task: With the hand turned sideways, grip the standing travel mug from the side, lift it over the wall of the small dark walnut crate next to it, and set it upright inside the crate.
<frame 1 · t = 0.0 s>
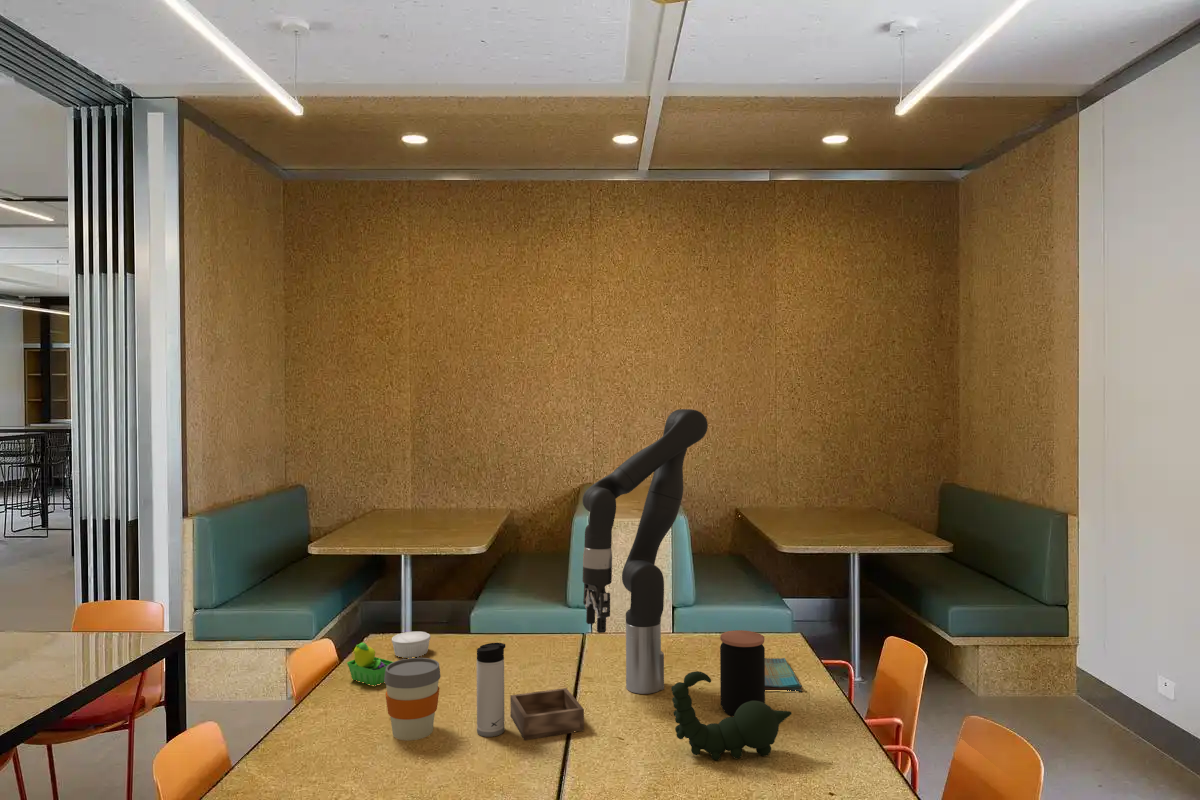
hand: (595, 627, 198), 17 cm above the table, tool pointing down, fingers open, 8 cm apart
toy figurine: (731, 755, 164), on the table
ramekin: (411, 654, 232), on the table
dish towel: (762, 679, 211), on the table
travel mug: (491, 732, 176), on the table
walnut crate: (546, 723, 181), on the table
coffee jar: (742, 711, 188), on the table
fruit basket: (369, 682, 209), on the table
reusable coffee cup: (412, 732, 177), on the table
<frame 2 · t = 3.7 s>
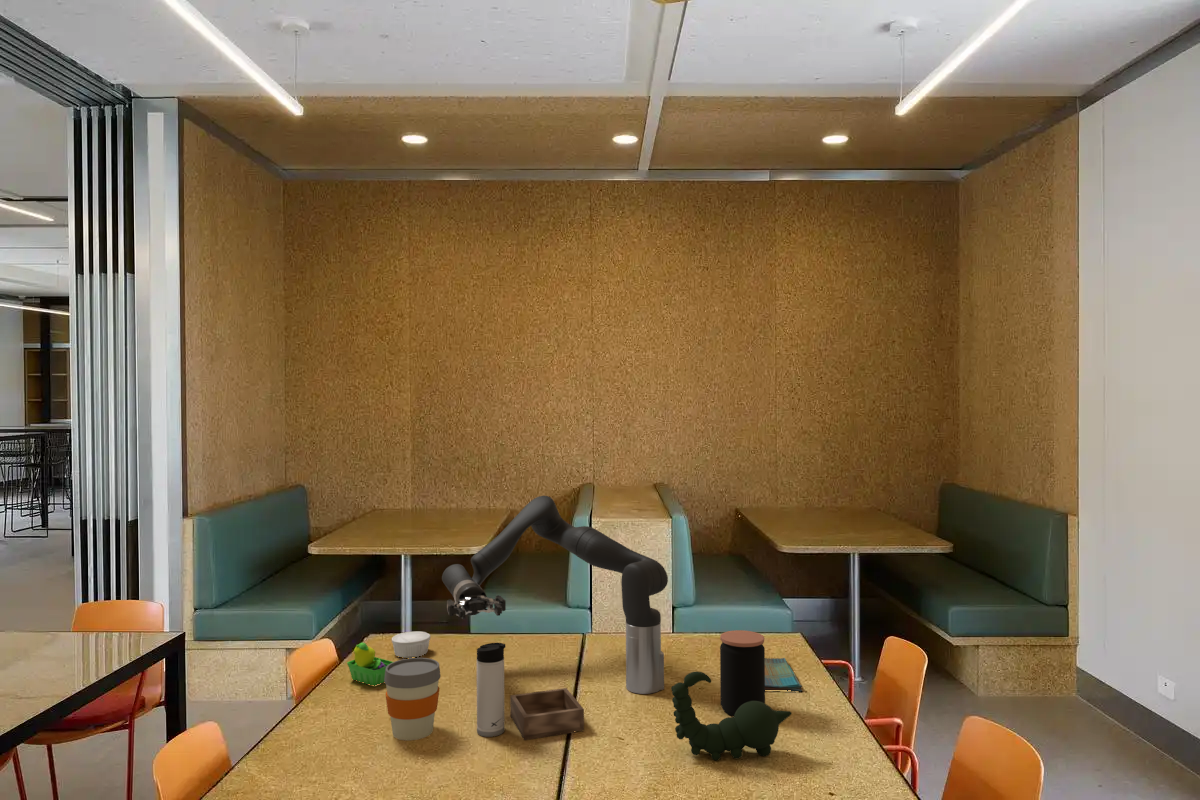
hand: (481, 613, 188), 24 cm above the table, tool horizontal, fingers open, 8 cm apart
nothing on the table moved.
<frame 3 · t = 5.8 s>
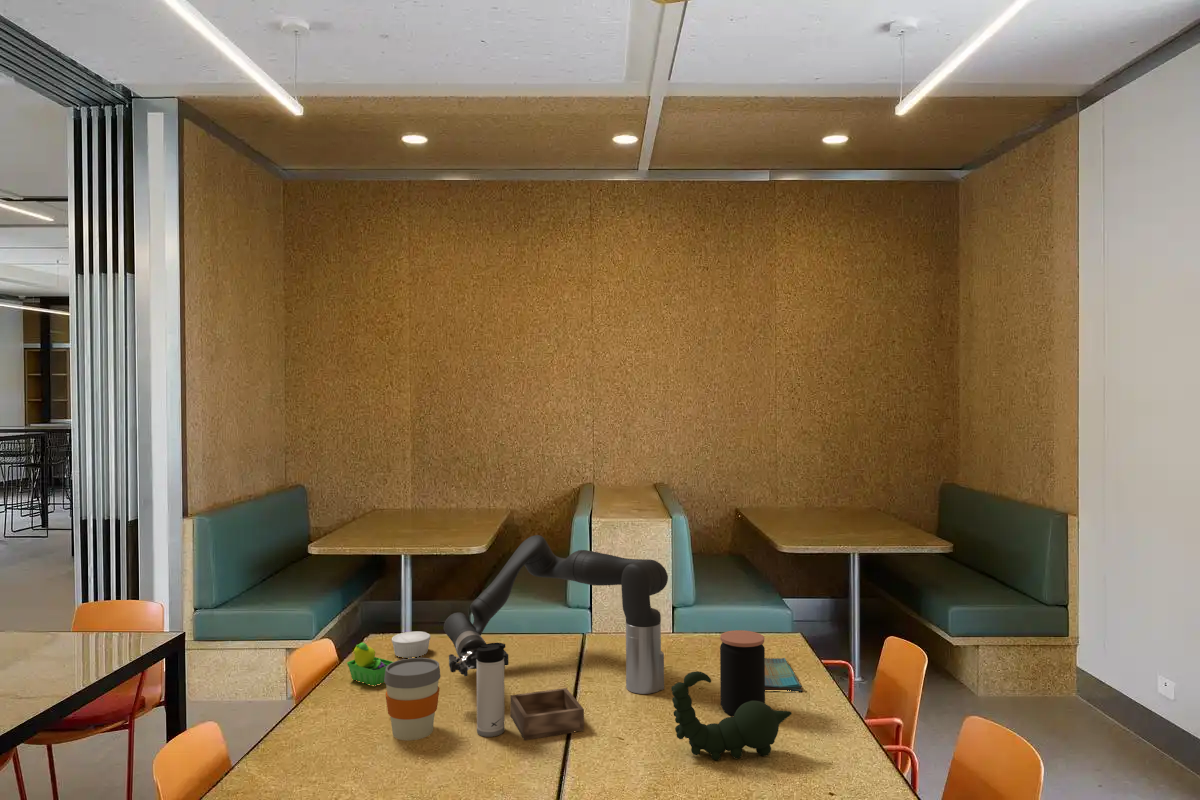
hand: (483, 669, 184), 11 cm above the table, tool horizontal, fingers open, 8 cm apart
nothing on the table moved.
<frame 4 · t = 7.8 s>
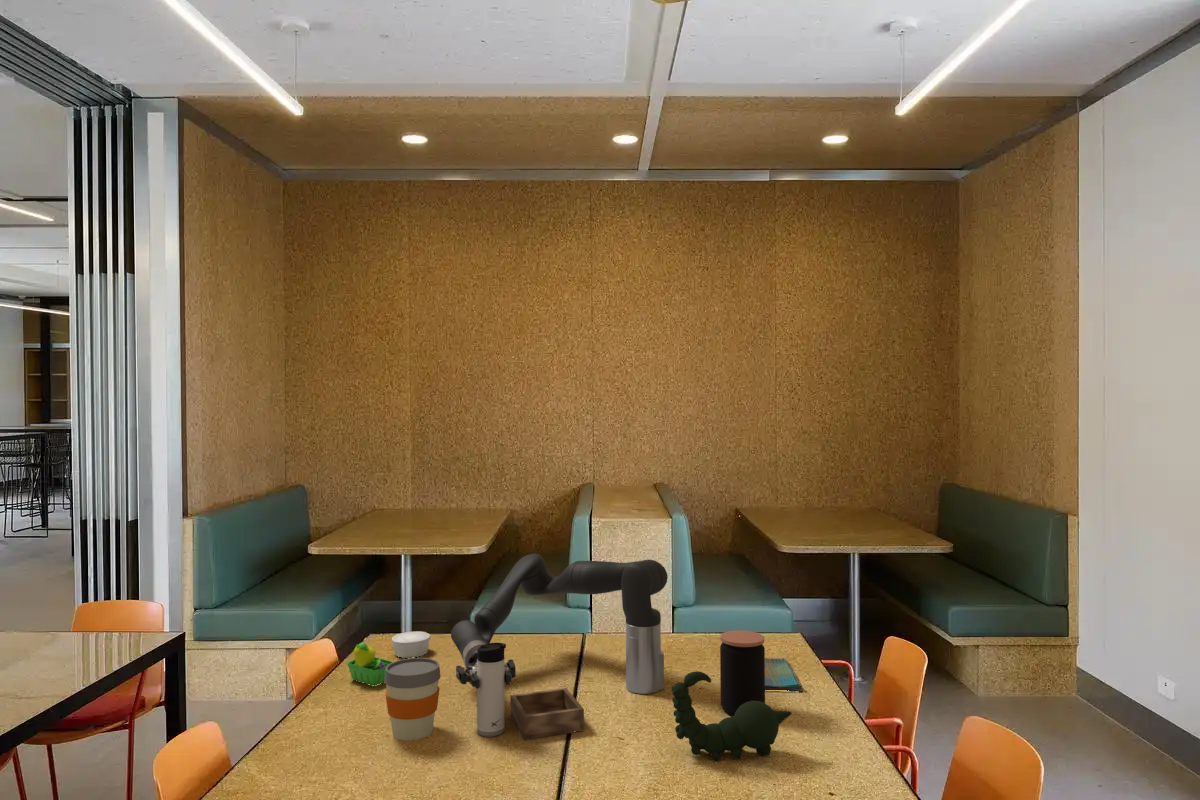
hand: (492, 682, 174), 12 cm above the table, tool horizontal, fingers closed on travel mug, 6 cm apart
travel mug: (491, 732, 176), on the table, touching gripper
everything else where it was.
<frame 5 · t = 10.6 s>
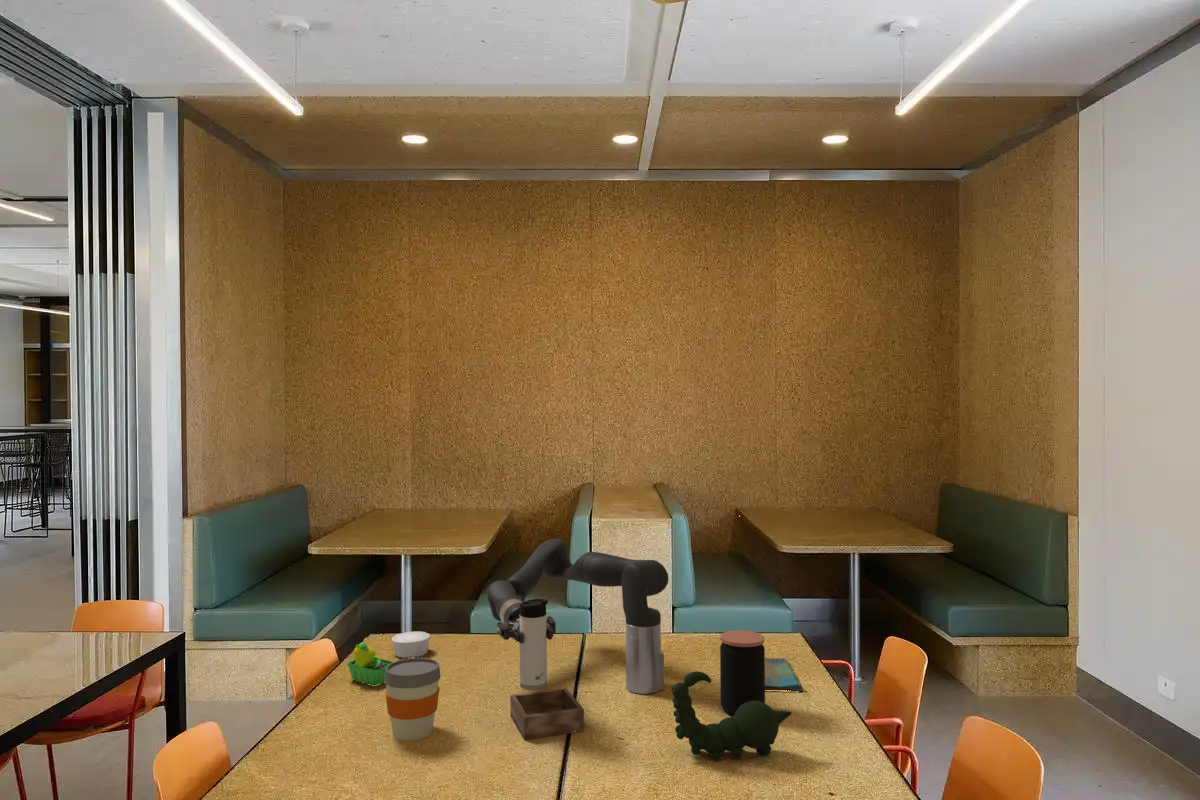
hand: (536, 637, 177), 21 cm above the table, tool horizontal, fingers closed on travel mug, 6 cm apart
travel mug: (534, 686, 180), point 9 cm above the table, touching gripper
everything else where it was.
when the fingers open (14 cm above the table, at t = 13.3 s): travel mug drops 1 cm, resting on walnut crate.
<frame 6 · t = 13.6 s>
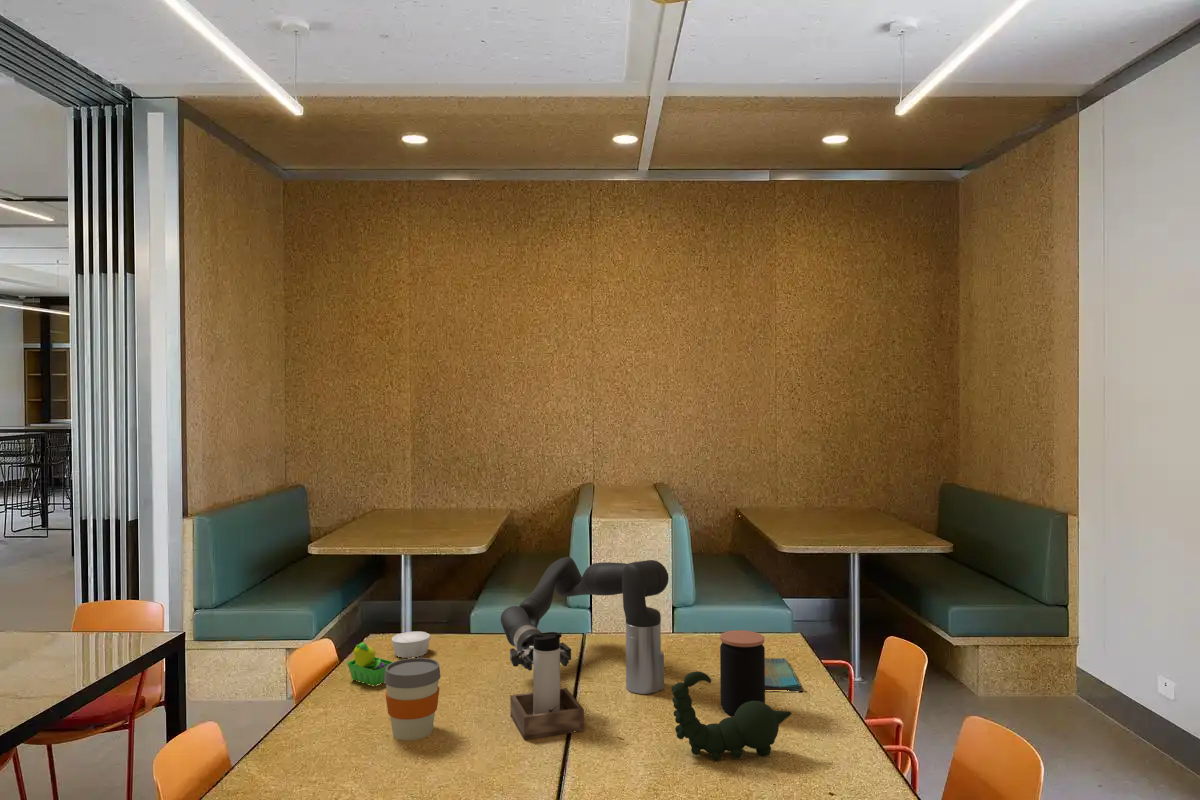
hand: (548, 664, 179), 15 cm above the table, tool horizontal, fingers open, 8 cm apart
travel mug: (547, 719, 181), point 1 cm above the table, touching walnut crate
everything else where it was.
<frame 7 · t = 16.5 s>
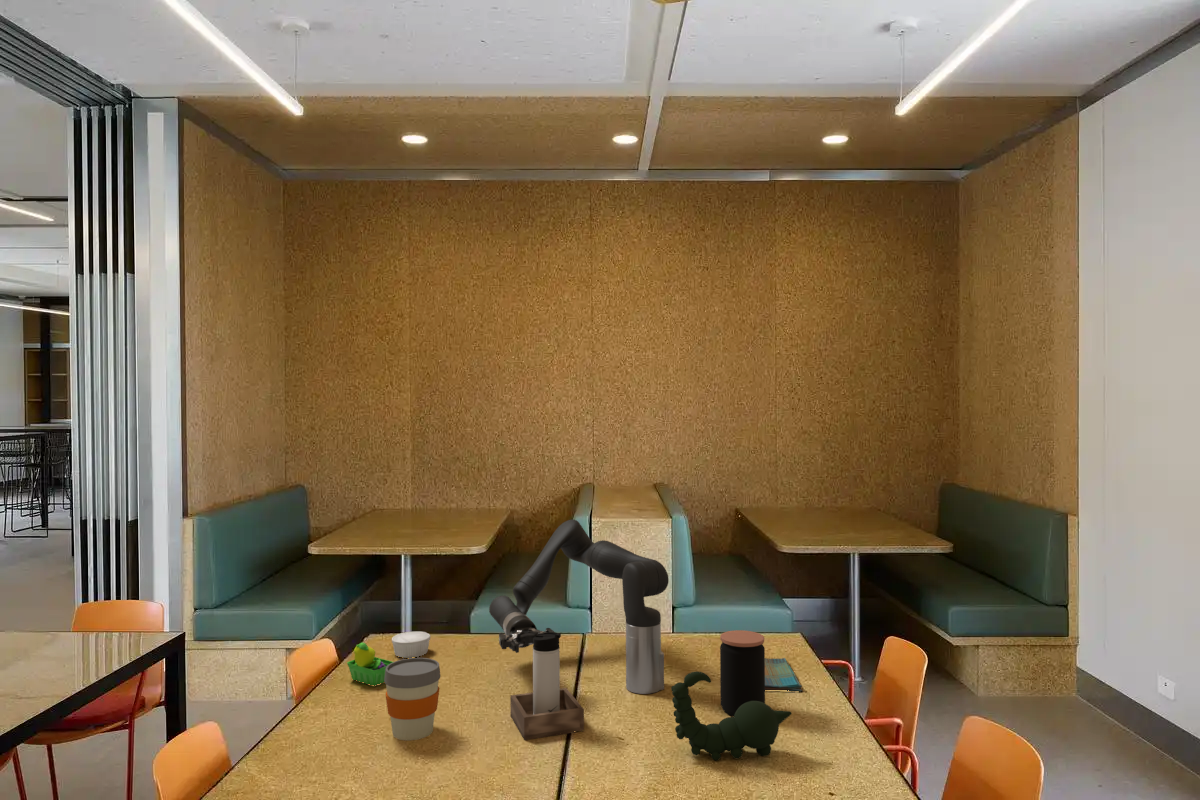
hand: (534, 646, 191), 15 cm above the table, tool horizontal, fingers open, 8 cm apart
nothing on the table moved.
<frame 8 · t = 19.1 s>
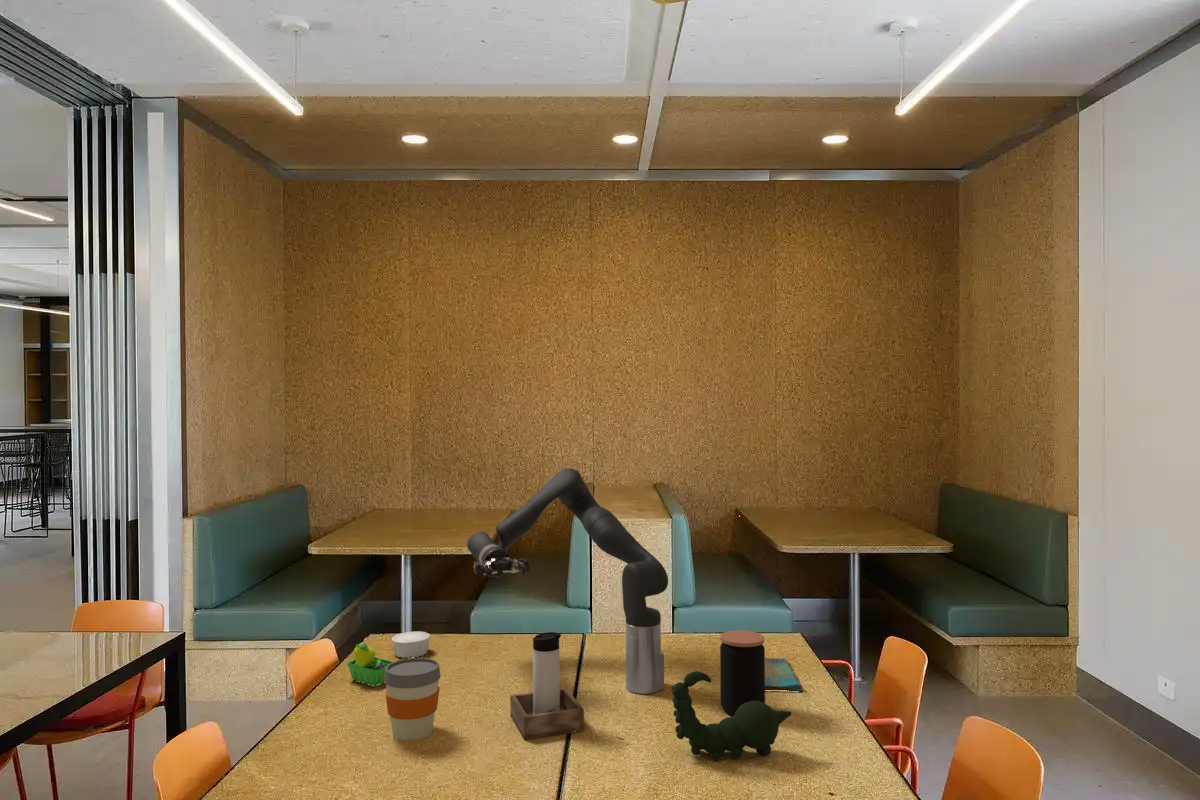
hand: (507, 571, 197), 32 cm above the table, tool horizontal, fingers open, 8 cm apart
nothing on the table moved.
at the end: travel mug inside the target area on the walnut crate (0.2 cm from its centre), point 0.8 cm above the walnut crate's base; travel mug tilted 0°; the gripper is holding nothing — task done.
